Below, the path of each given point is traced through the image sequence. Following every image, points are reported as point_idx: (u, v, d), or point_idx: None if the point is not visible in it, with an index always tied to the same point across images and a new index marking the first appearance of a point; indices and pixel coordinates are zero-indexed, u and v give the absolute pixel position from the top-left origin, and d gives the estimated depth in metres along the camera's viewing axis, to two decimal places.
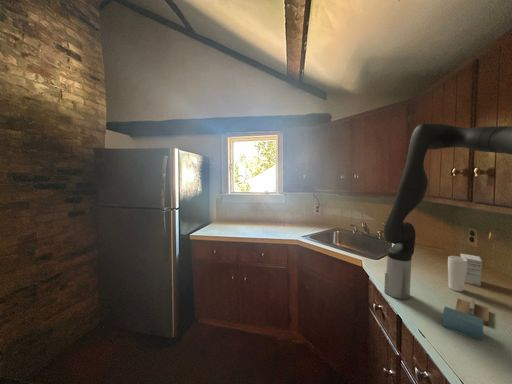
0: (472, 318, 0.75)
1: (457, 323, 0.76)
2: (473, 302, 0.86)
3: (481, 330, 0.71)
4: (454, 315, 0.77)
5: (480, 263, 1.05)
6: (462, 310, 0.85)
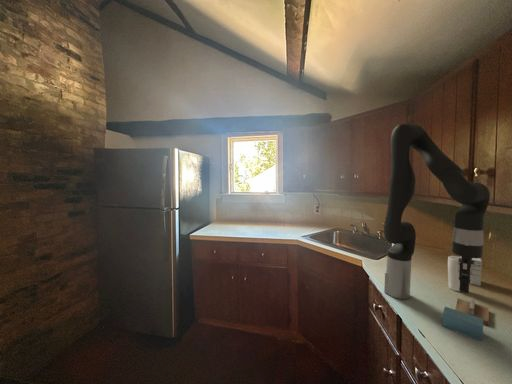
0: (472, 318, 0.75)
1: (457, 323, 0.76)
2: (473, 302, 0.86)
3: (481, 330, 0.71)
4: (454, 315, 0.77)
5: (480, 263, 1.05)
6: (462, 310, 0.85)
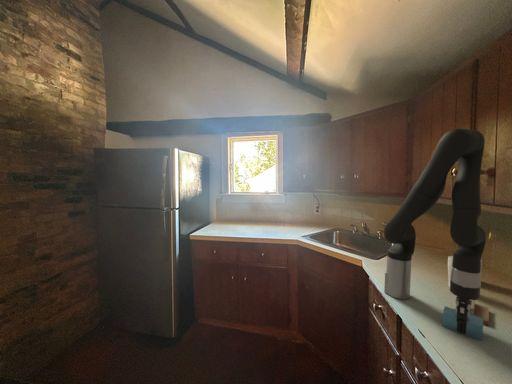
0: (472, 318, 0.75)
1: None
2: (473, 302, 0.86)
3: (481, 330, 0.71)
4: (454, 315, 0.77)
5: None
6: None
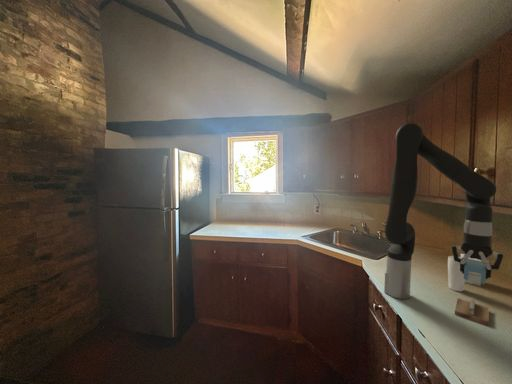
0: (477, 266, 0.81)
1: None
2: (473, 302, 0.86)
3: (464, 269, 0.82)
4: (469, 261, 0.86)
5: None
6: (462, 310, 0.85)
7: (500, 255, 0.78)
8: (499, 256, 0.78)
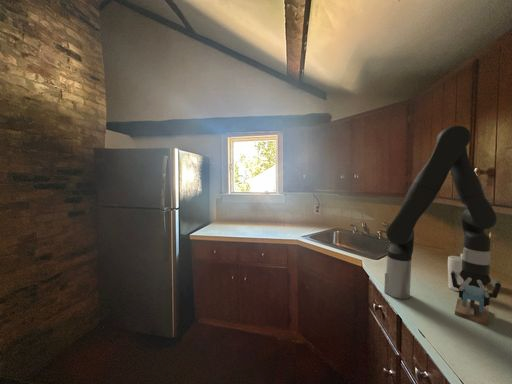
0: (475, 294, 0.83)
1: None
2: (473, 302, 0.86)
3: None
4: (468, 288, 0.87)
5: None
6: (462, 310, 0.85)
7: (498, 284, 0.79)
8: (497, 285, 0.79)
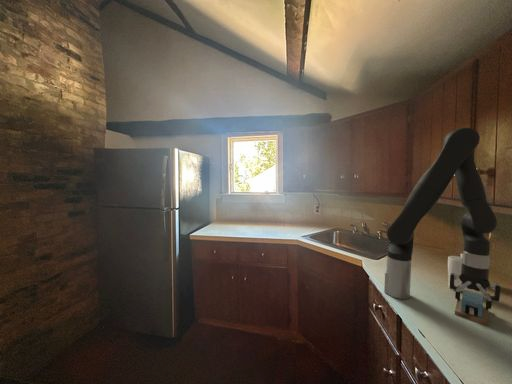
0: (474, 300, 0.83)
1: None
2: None
3: None
4: (467, 293, 0.88)
5: None
6: None
7: (497, 287, 0.79)
8: (497, 288, 0.80)
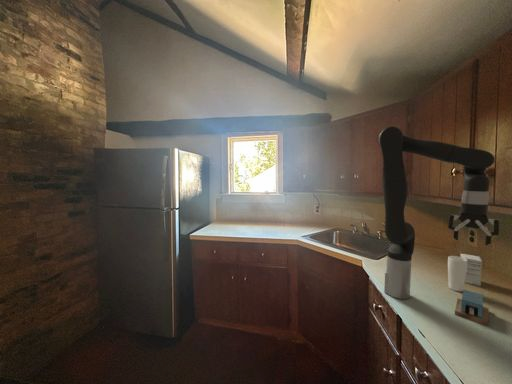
0: (474, 300, 0.83)
1: None
2: None
3: None
4: (467, 293, 0.88)
5: (480, 263, 1.05)
6: None
7: (496, 220, 0.82)
8: (495, 222, 0.82)
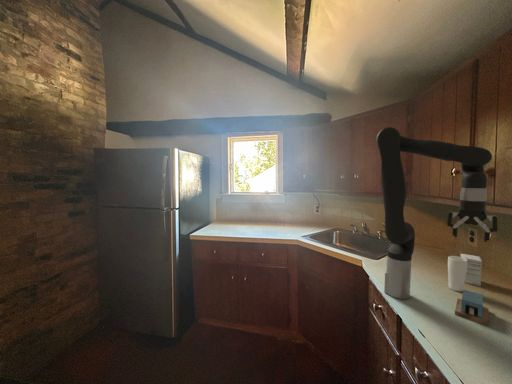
0: (474, 300, 0.83)
1: None
2: None
3: None
4: (467, 293, 0.88)
5: (480, 263, 1.05)
6: None
7: (494, 217, 0.82)
8: (493, 218, 0.82)
